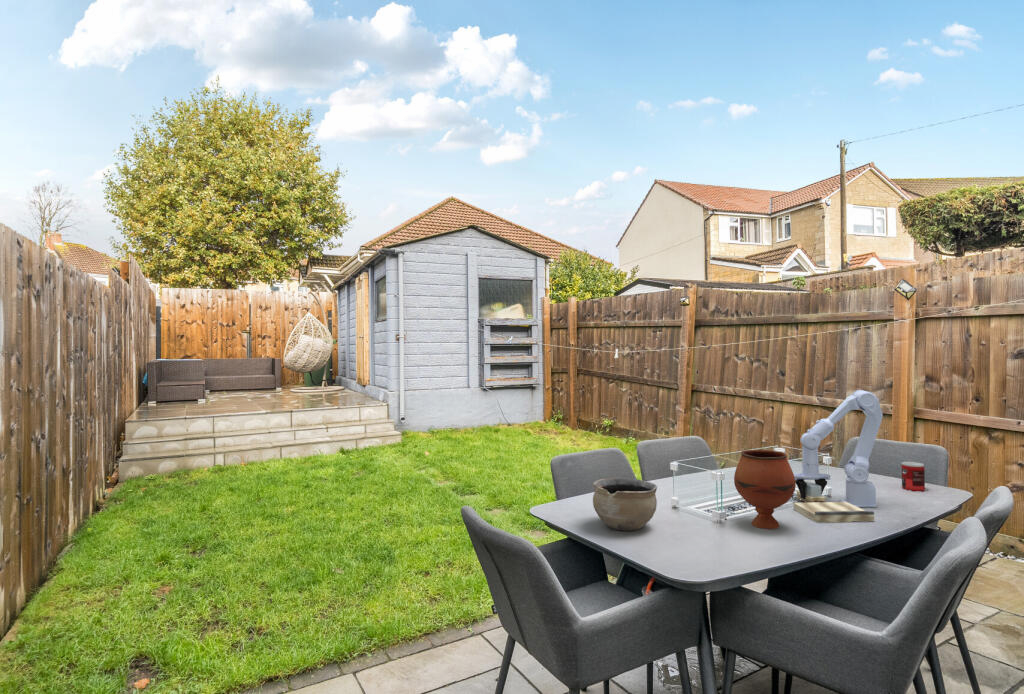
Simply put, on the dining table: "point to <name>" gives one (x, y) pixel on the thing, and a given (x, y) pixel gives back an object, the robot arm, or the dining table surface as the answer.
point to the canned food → (913, 476)
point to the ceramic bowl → (624, 502)
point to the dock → (833, 512)
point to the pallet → (811, 498)
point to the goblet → (764, 483)
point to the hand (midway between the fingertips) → (811, 498)
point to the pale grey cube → (813, 490)
